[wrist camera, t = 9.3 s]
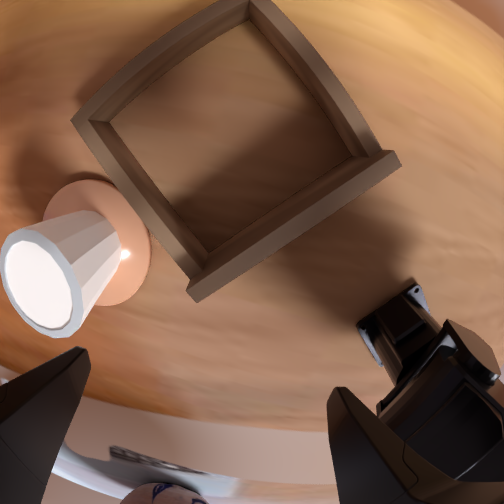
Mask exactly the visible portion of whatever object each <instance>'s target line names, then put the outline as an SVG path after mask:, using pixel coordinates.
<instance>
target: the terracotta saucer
mask: <svg viewBox="0 0 504 504" xmlns="http://www.w3.org/2000/svg"><path fill="white" fill-rule="evenodd" d="M81 210H87V211H95V212H97V213H98V214H100V215H102V216H103V217H105V218H106V219H107V220H108V221H109V222H110V224H111V225H112V226H113V227H114V229H115V230H116V232H117V235H118V238H119V241H120V243H121V261H120V263H119V266H118V268H117V271H116V272H115V274H114V275H113V277H112V278H111V280H110V281H109V283H108V284H107V286H106V287H105V289H104V290H103V292H102V293H101V295H100V296H99V298H98V299H97V301H96V302H95V304H94V305H99V306H109V305H115V304H119V303H121V302H123V301H125V300H127V299H128V298H130V297H131V296H132V295H133V294H134V293H135V292H136V291H137V290H138V288H139V287H140V286H141V284H142V283H143V281H144V280H145V278H146V276H147V273H148V271H149V267H150V263H151V255H152V251H151V239H150V234H149V230H148V228H147V226H146V225H145V224H144V222H143V221H142V220H141V219H140V217H139V216H138V215H137V213H136V212H135V211H134V210H133V208H132V207H131V206H130V204H129V203H128V202H127V200H126V199H125V198H124V196H123V195H122V194H121V192H120V191H119V190H118V188H117V187H116V186H115V185H113V184H111V183H108V182H105V181H102V180H97V179H85V180H80V181H76V182H73V183H70V184H68V185H66V186H64V187H63V188H61V189H60V190H59V191H58V192H57V193H56V194H55V195H54V196H53V197H52V199H51V200H50V202H49V203H48V206H47V208H46V210H45V213H44V216H43V221H46V220H49V219H53V218H56V217H60V216H63V215H67V214H70V213H74V212H77V211H81ZM43 221H42V222H43Z"/></svg>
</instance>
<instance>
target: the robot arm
mask: <svg viewBox="0 0 504 504" xmlns="http://www.w3.org/2000/svg"><path fill="white" fill-rule="evenodd" d="M416 288H417V289H416ZM415 289H416V290H415ZM414 290H415V291H414ZM363 325H364V326H363ZM361 326H363V327H361ZM356 327H357V329H358V331H359V333H360V334H361V336H362V338H363V339H364V341H365V343H366V344H367V346H368V348H369V349H370V351H371V353H372V354H373V356H374V358H375V359H376V361H377V363H378V365H379V366H381V367H382V366H384V367H385V369H386V371H387V373H388V375H389V377H390V378H391V380H392V382H393V384H394V386H395V387H394V388H393V389H392V391H391V392H390V393H389V394H388V395H387V396H386V397H385V398H384V399H383V400H381V401H380V402H379V403H378V404H377V405H376V410H377V416H376V415H375V414H374V413H373V412H372V411H371V410H369V409H368V408H367V407H366V406H365V405H364V404H363V403H362V402H361V401H360V400H359V399H358V398H357V397H356V396H355V395H354V394H353V393H352V392H351V391H350V390H349V389H348V388H346V387H335V388H334V389H333V391H332V393H331V395H330V397H329V399H328V401H327V420H328V435H329V444H330V449H331V455H332V460H333V466H334V471H335V477H336V482H337V489H338V495H339V501H340V504H504V384H503V383H502V382H501V381H500V380H499V379H498V378H499V377H500V375H501V371H500V368H499V366H498V363H497V360H496V358H495V355H494V353H493V350H492V348H491V347H490V346H489V345H488V344H487V343H486V342H485V341H484V340H482V339H481V338H480V337H479V336H478V335H477V334H476V333H475V332H473V331H471V330H469V329H467V328H465V327H463V326H461V325H459V324H457V323H455V322H453V321H451V320H449V319H446V321H445V322H444V324H443V327H441V326H440V325H439V324H438V323H437V322H436V321H435V320H434V318H433V317H432V316H431V315H430V312H429V309H428V306H427V303H426V300H425V297H424V294H423V291H422V288H421V286H420V285H419V284H417V283H415V284H413V285H411V286H410V287H409V288H407V289H406V290H405V291H403V292H402V293H400V294H399V295H398V296H396V297H395V298H393V299H392V300H391V301H389V302H388V303H386V304H385V305H383V306H382V307H380V308H379V309H377V310H376V311H374V312H373V313H371V314H370V315H368V316H367V317H365V318H364V319H362V320H361V321H359V322H358V323H357V326H356ZM90 370H91V363H90V359H89V355H88V351H87V349H85V348H82V347H79V346H76V347H74V348H72V349H70V350H68V351H66V352H64V353H62V354H60V355H59V356H57V357H55V358H53V359H51V360H49V361H47V362H45V363H43V364H41V365H39V366H38V367H36V368H34V369H32V370H30V371H28V372H26V373H24V374H22V375H20V376H19V377H17V378H15V379H13V380H11V381H9V382H8V383H5V384H3V385H1V386H0V504H41V501H42V498H43V494H44V492H45V488H46V487H45V486H46V485H47V482H48V479H49V477H50V474H51V471H52V468H53V465H54V463H55V460H56V458H57V455H58V452H59V450H60V447H61V445H62V442H63V440H64V437H65V435H66V433H67V430H68V428H69V426H70V423H71V421H72V419H73V416H74V414H75V412H76V409H77V407H78V405H79V403H80V400H81V397H82V394H83V391H84V388H85V385H86V382H87V379H88V376H89V373H90Z"/></svg>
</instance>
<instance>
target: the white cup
mask: <svg viewBox="0 0 504 504" xmlns="http://www.w3.org/2000/svg"><path fill="white" fill-rule="evenodd" d="M120 261H121V243H120V241H119V238H118V235H117V232H116V230H115V229H114V227H113V226H112V225H111V224H110V222H109V221H108V220H107V219H106V218H105V217H103V216H102V215H100V214H98V213H97V212H95V211H87V210H81V211H77V212H74V213H70V214H67V215H63V216H60V217H56V218H53V219H49V220H46V221H43V222H40V223H36V224H33V225H30V226H27V227H24V228H21V229H19V230H17V231H15V232H13V233H11V234H9V235H8V237H7V239H6V240H5V242H4V244H3V246H2V248H1V255H0V272H1V277H2V282H3V286H4V288H5V291H6V293H7V295H8V297H9V299H10V301H11V303H12V305H13V307H14V308H15V309H16V311H17V312H18V313H19V314H20V316H21V317H22V318H23V319H24V321H25V322H27V323H28V324H29V325H30V326H32V327H33V328H34V329H36V330H37V331H38V332H40V333H42V334H45V335H47V336H50V337H53V338H63V337H70V336H71V335H72V334H73V333H74V332H75V331H77V330H78V329H79V328H80V326H81V325H82V323H83V321H84V320H85V318H86V317H87V315H88V313H89V312H90V310H91V309H92V307H93V305H94V304H95V302H96V301H97V299H98V298H99V296H100V295H101V293H102V292H103V290H104V289H105V287H106V286H107V284H108V283H109V281H110V280H111V278H112V277H113V275H114V274H115V272H116V271H117V268H118V266H119V263H120Z"/></svg>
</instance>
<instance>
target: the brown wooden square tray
mask: <svg viewBox="0 0 504 504" xmlns="http://www.w3.org/2000/svg"><path fill="white" fill-rule="evenodd" d="M248 19H249V20H250V21H251V22H252V23H253V24H254V25H255V26H256V27H257V28H258V29H259V30H260V31H261V32H262V34H263V35H264V36H265V37H266V38H267V39H268V40H269V41H270V43H271V44H272V45H273V46H274V47H275V48H276V50H277V51H278V52H279V53H280V54H281V56H282V57H283V58H284V59H285V60H286V62H287V63H288V64H289V65H290V67H291V68H292V69H293V70H294V72H295V73H296V74H297V76H298V77H299V78H300V79H301V81H302V82H303V83H304V85H305V86H306V87H307V89H308V90H309V91H310V93H311V94H312V96H313V97H314V98H315V100H316V101H317V103H318V104H319V105H320V107H321V108H322V110H323V111H324V113H325V114H326V116H327V117H328V118H329V120H330V121H331V123H332V124H333V126H334V128H335V129H336V131H337V132H338V134H339V135H340V137H341V138H342V140H343V142H344V143H345V145H346V146H347V148H348V150H349V151H350V153H351V155H352V157H350V158H349V159H347V160H346V161H344V162H342V163H341V164H339V165H338V166H336V167H335V168H333V169H332V170H330V171H329V172H327V173H326V174H324V175H323V176H321V177H320V178H318V179H317V180H315V181H314V182H312V183H311V184H309V185H308V186H306V187H305V188H303V189H302V190H300V191H299V192H297V193H296V194H294V195H293V196H291V197H290V198H288V199H287V200H285V201H284V202H283V203H281V204H280V205H278V206H277V207H275V208H274V209H272V210H271V211H269V212H268V213H266V214H265V215H263V216H262V217H261V218H259V219H258V220H256V221H255V222H253V223H252V224H250V225H249V226H247V227H246V228H245V229H243V230H242V231H240V232H239V233H237V234H236V235H235V236H233V237H232V238H230V239H229V240H227V241H226V242H225V243H223V244H222V245H220V246H219V247H217V248H216V249H215V250H213V251H212V252H210V253H208V252H207V251H206V250H205V248H204V247H203V246H202V245H201V243H200V242H199V241H198V240H197V238H196V237H195V236H194V234H193V233H192V232H191V231H190V229H189V228H188V227H187V226H186V224H185V223H184V222H183V221H182V219H181V218H180V217H179V215H178V214H177V213H176V212H175V210H174V209H173V208H172V206H171V205H170V204H169V203H168V201H167V200H166V199H165V197H164V196H163V195H162V193H161V192H160V191H159V190H158V188H157V187H156V186H155V184H154V183H153V182H152V180H151V179H150V178H149V176H148V175H147V174H146V172H145V171H144V170H143V168H142V167H141V166H140V164H139V163H138V162H137V160H136V159H135V158H134V156H133V155H132V154H131V152H130V151H129V150H128V148H127V147H126V145H125V144H124V143H123V141H122V140H121V139H120V137H119V136H118V134H117V133H116V132H115V130H114V129H113V128H112V126H111V125H110V123H109V121H110V120H111V119H112V118H113V117H114V116H116V115H117V114H118V113H119V112H120V111H121V110H122V109H123V108H124V107H125V106H126V105H127V104H128V103H130V102H131V101H132V100H133V99H134V98H135V97H136V96H138V95H139V94H140V93H141V92H142V91H143V90H145V89H146V88H147V87H148V86H149V85H151V84H152V83H153V82H154V81H156V80H157V79H158V78H159V77H161V76H162V75H163V74H165V73H166V72H167V71H168V70H170V69H171V68H172V67H174V66H175V65H177V64H178V63H179V62H181V61H182V60H183V59H185V58H186V57H188V56H189V55H191V54H192V53H194V52H195V51H196V50H198V49H200V48H201V47H203V46H204V45H206V44H207V43H209V42H210V41H212V40H214V39H215V38H217V37H218V36H220V35H222V34H223V33H225V32H227V31H228V30H230V29H232V28H234V27H235V26H237V25H239V24H241V23H243V22H245V21H246V20H248ZM70 121H71V122H72V124H73V125H74V127H75V128H76V130H77V131H78V133H79V134H80V136H81V137H82V139H83V140H84V142H85V143H86V145H87V146H88V148H89V149H90V151H91V152H92V153H93V155H94V156H95V158H96V159H97V161H98V162H99V163H100V165H101V166H102V168H103V169H104V170H105V172H106V173H107V175H108V176H109V177H110V179H111V180H112V181H113V183H114V184H115V186H116V187H117V188H118V190H119V191H120V192H121V194H122V195H123V196H124V198H125V199H126V200H127V202H128V203H129V204H130V206H131V207H132V208H133V210H134V211H135V212H136V213H137V215H138V216H139V217H140V219H141V220H142V221H143V222H144V224H145V225H146V226H147V228H148V229H149V230H150V231H151V233H152V234H153V235H154V236H155V238H156V239H157V240H158V241H159V243H160V244H161V245H162V246H163V248H164V249H165V250H166V251H167V252H168V254H169V255H170V256H171V257H172V258H173V260H174V261H175V262H176V263H177V264H178V266H179V267H180V268H181V269H182V270H183V272H184V273H185V274H186V275H187V276H188V278H189V279H190V281H189V284H188V286H187V289H186V292H187V293H188V294H189V295H190V296H191V298H192V299H193V300H194V301H195V302H196V303H198V302H200V301H201V300H203V299H204V298H206V297H208V296H209V295H211V294H212V293H214V292H215V291H217V290H218V289H220V288H221V287H223V286H224V285H226V284H228V283H229V282H231V281H232V280H234V279H235V278H237V277H238V276H240V275H241V274H243V273H244V272H246V271H247V270H249V269H250V268H252V267H253V266H255V265H256V264H258V263H259V262H261V261H263V260H264V259H266V258H267V257H269V256H270V255H272V254H273V253H275V252H276V251H278V250H279V249H281V248H282V247H284V246H285V245H287V244H288V243H290V242H291V241H293V240H294V239H296V238H297V237H299V236H300V235H302V234H303V233H305V232H306V231H308V230H309V229H311V228H312V227H314V226H315V225H317V224H318V223H320V222H321V221H323V220H324V219H325V218H327V217H328V216H330V215H331V214H333V213H334V212H336V211H337V210H339V209H340V208H342V207H343V206H345V205H346V204H348V203H349V202H351V201H352V200H354V199H355V198H356V197H358V196H359V195H361V194H362V193H364V192H365V191H367V190H368V189H370V188H371V187H373V186H374V185H376V184H377V183H378V182H380V181H381V180H383V179H384V178H386V177H387V176H389V175H390V174H392V173H393V172H394V171H396V170H397V169H399V168H400V167H402V165H401V163H400V161H399V159H398V157H397V155H396V153H395V151H394V150H382V148H381V146H380V145H379V143H378V141H377V139H376V138H375V136H374V134H373V132H372V131H371V129H370V127H369V126H368V124H367V122H366V121H365V119H364V118H363V116H362V114H361V113H360V111H359V110H358V108H357V106H356V105H355V103H354V102H353V100H352V99H351V97H350V96H349V94H348V93H347V91H346V90H345V89H344V87H343V86H342V84H341V83H340V81H339V80H338V79H337V77H336V76H335V75H334V73H333V72H332V70H331V69H330V68H329V66H328V65H327V64H326V62H325V61H324V60H323V59H322V57H321V56H320V55H319V54H318V52H317V51H316V50H315V49H314V47H313V46H312V45H311V44H310V42H309V41H308V40H307V39H306V38H305V37H304V35H303V34H302V33H301V32H300V31H299V30H298V28H297V27H296V26H295V25H294V24H293V23H292V22H291V21H290V20H289V19H288V17H287V16H286V15H285V14H284V13H283V12H282V11H281V10H280V9H279V8H278V7H277V6H276V5H275V4H274V3H273V2H272V1H271V0H219V1H217V2H216V3H214V4H212V5H210V6H209V7H207V8H205V9H203V10H202V11H200V12H198V13H197V14H195V15H193V16H192V17H190V18H189V19H187V20H185V21H184V22H182V23H181V24H179V25H178V26H176V27H175V28H173V29H172V30H171V31H169V32H168V33H166V34H165V35H163V36H162V37H161V38H159V39H158V40H157V41H155V42H154V43H153V44H151V45H150V46H149V47H147V48H146V49H145V50H143V51H142V52H141V53H140V54H138V55H137V56H136V57H135V58H134V59H132V60H131V61H130V62H129V63H128V64H126V65H125V66H124V67H123V68H122V69H121V70H120V71H118V72H117V73H116V74H115V75H114V76H113V77H112V78H111V79H110V80H109V81H107V82H106V83H105V84H104V85H103V86H102V87H101V88H100V89H99V90H98V91H97V92H96V93H95V94H94V95H93V96H92V97H91V98H90V99H89V100H88V101H87V102H86V103H85V104H84V105H83V107H82V108H81V109H80V110H79V111H78V112H77V113H76V114H75V115H74V116H73V118H72V119H71V120H70Z"/></svg>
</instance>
